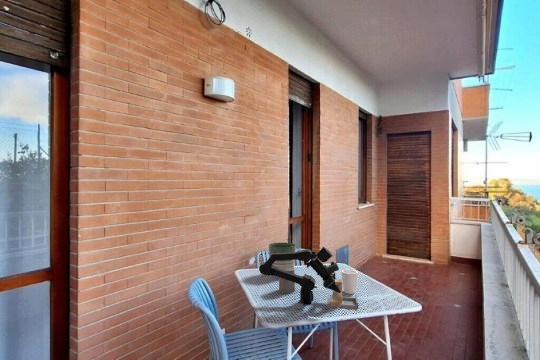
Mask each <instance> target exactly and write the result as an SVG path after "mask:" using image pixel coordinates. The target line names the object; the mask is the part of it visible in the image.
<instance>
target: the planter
mask: <svg viewBox="0 0 540 360" xmlns="http://www.w3.org/2000/svg"><path fill="white" fill-rule="evenodd" d="M296 247H297V246H296V244H295V243H292V242H272V243H270V244H268V255H269V257H268V259H269V258H270V257H271V255H272V254H273V253H287V252H296ZM295 261H296V260H279V261H275V262H274V263H273V265H274V266H275V267H276V268H280V267H293V268H294V269H295V264H296V262H295Z"/></svg>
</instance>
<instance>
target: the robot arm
mask: <svg viewBox="0 0 540 360" xmlns="http://www.w3.org/2000/svg"><path fill="white" fill-rule="evenodd" d="M333 256H334V255H333V253H332V252H331V251H330V250H329V249H328V248H326V247H325V246H322V248H321V249H320V250H318V251H313V250H311V249H308V248H305V249H301V250H297V251H295V252H287V253H273V254H272V255H271V257H270V258H269V257H268V259H267V260H266V261H264V262H263V263H262V264H260V266H259V267H258V269H259V270H258V271H259V272H260V274H261V275H264V276H274V277H278V278H279V277H280V278H283V279H286V280H289V281H291V282H294V283H295V284H297V285H298V286H300V291H299V300H298V302H299V303H301V304H302V305H304V306H306V305H311V304H312V302H314V292H313V290H314V289H315V287H316V282H317V281H316V280H315V278H314V277H313V276H312V275H309V274H308V273H304V275H299V274H296V273H295V274H293V273H290V272H287V271H284V270H282V269H279V268H276V267H275V266H274V265H273V263H274V262H275V261H279V260H295V261H300V262H305V264H306V269H308V268H312V269H313V271H314V272H315V273H316V275H317V276H319V277H320V278H321V280H322V286H323V287H324V288H325V289H328V290H331V291H332V292H333V291H336V292H338V293H340V292H341V291H340V290H339V288H338V287H337V285H336V284H335V279H337V278H336V272H338V271H339V270H340V268H339V265H338V263H337V262H335V261H331V262H330V264H329V265H328V266H327V265H326V264H323V263H327V262H328V261H329V260H330V259H331V258H332V257H333Z"/></svg>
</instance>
